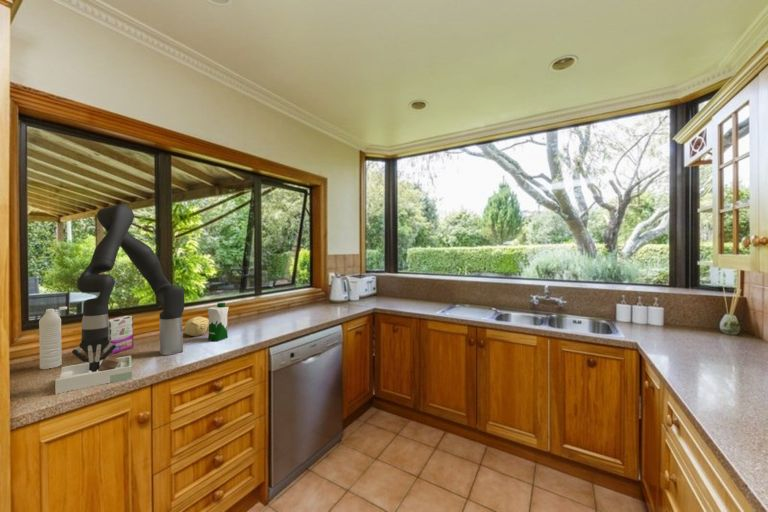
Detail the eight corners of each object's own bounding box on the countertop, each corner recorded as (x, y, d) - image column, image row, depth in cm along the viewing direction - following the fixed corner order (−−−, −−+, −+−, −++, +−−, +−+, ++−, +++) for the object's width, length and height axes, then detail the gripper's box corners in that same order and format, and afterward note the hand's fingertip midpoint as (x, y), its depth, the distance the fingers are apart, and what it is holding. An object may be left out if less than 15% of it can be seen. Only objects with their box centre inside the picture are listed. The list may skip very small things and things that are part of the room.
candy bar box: (125, 346, 160) (125, 315, 160) (133, 347, 159) (133, 315, 159) (102, 354, 149) (101, 320, 149) (110, 355, 148) (110, 321, 148)
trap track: (131, 367, 135) (131, 355, 135) (132, 378, 123) (131, 366, 123) (62, 379, 121) (61, 367, 121) (55, 394, 110) (55, 380, 110)
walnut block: (112, 369, 124) (119, 358, 125) (112, 373, 121) (118, 362, 122) (98, 367, 122) (105, 356, 123) (97, 371, 118) (104, 359, 119)
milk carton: (230, 337, 179) (230, 303, 178) (216, 342, 171) (216, 306, 170) (219, 335, 182) (219, 301, 181) (205, 340, 174) (205, 304, 173)
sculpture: (198, 338, 177) (198, 319, 176) (179, 336, 179) (179, 318, 178) (212, 332, 188) (212, 315, 188) (194, 331, 190) (194, 314, 190)
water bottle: (44, 370, 129) (43, 311, 128) (36, 368, 132) (35, 309, 131) (71, 363, 137) (71, 307, 137) (63, 361, 140) (62, 305, 139)
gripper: (118, 322, 126) (117, 365, 126) (72, 326, 118) (71, 372, 118) (117, 326, 120) (116, 370, 120) (69, 330, 112) (68, 378, 112)
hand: (94, 371), depth 119 cm, fingers closed
